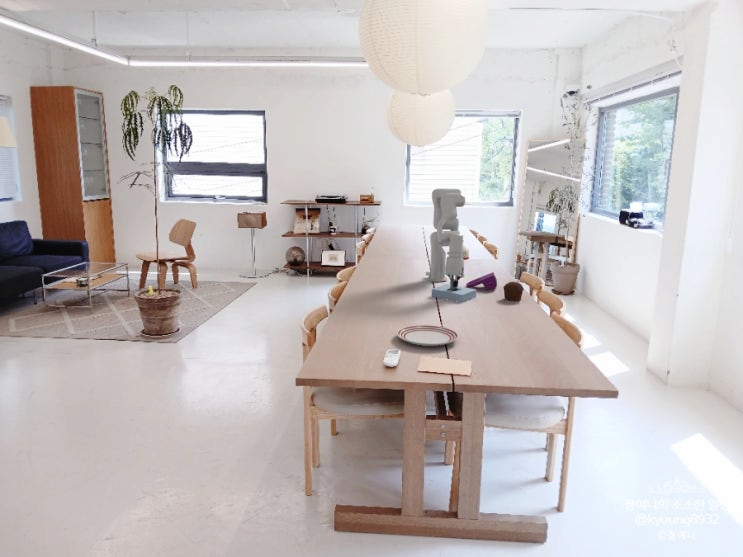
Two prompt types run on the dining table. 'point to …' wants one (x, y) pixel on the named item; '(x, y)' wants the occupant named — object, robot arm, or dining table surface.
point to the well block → (454, 293)
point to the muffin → (513, 291)
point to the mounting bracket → (484, 282)
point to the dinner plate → (427, 335)
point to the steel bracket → (453, 286)
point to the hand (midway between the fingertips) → (454, 286)
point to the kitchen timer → (465, 253)
